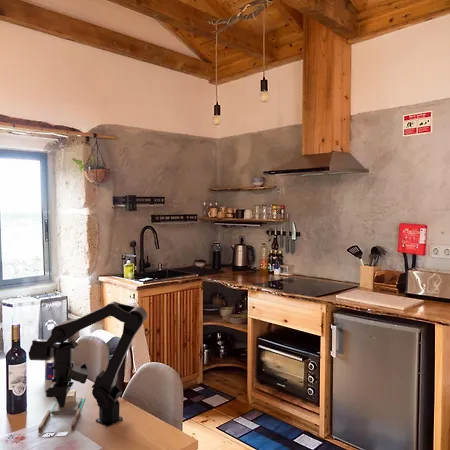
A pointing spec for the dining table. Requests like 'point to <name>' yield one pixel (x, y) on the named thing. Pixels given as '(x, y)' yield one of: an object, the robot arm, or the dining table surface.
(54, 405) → the mat
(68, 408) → the sled
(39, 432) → the channel
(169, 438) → the dining table surface
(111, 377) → the robot arm
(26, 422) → the dining table surface
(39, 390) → the dining table surface
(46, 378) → the energy drink
